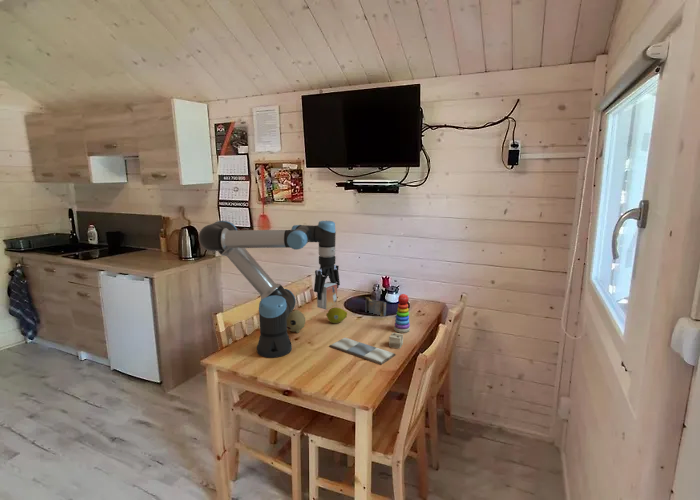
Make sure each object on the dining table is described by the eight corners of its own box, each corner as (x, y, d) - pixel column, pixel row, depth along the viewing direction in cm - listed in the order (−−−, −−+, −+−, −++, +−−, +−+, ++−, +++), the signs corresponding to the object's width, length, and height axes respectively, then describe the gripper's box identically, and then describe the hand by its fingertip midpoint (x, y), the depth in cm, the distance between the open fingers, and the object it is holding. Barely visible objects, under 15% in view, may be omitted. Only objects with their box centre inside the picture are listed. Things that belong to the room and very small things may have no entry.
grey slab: (365, 313, 230) (365, 296, 228) (367, 312, 232) (367, 295, 230) (383, 317, 224) (383, 300, 222) (385, 315, 227) (386, 298, 225)
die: (399, 348, 185) (400, 338, 184) (389, 347, 187) (389, 336, 186) (402, 344, 190) (403, 334, 189) (392, 342, 192) (392, 332, 191)
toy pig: (278, 334, 201) (277, 313, 199) (292, 325, 211) (292, 305, 209) (295, 338, 196) (294, 316, 194) (309, 329, 207) (308, 309, 205)
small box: (326, 310, 186) (326, 287, 184) (316, 307, 190) (316, 285, 188) (337, 305, 193) (337, 283, 191) (328, 302, 196) (328, 281, 194)
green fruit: (324, 324, 213) (324, 309, 212) (328, 318, 221) (328, 304, 219) (344, 326, 211) (344, 311, 209) (348, 320, 218) (348, 306, 216)
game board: (381, 364, 170) (381, 362, 170) (329, 346, 187) (329, 344, 187) (395, 355, 179) (395, 353, 179) (344, 338, 196) (344, 336, 195)
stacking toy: (391, 331, 204) (392, 295, 200) (397, 326, 211) (398, 290, 207) (406, 334, 200) (407, 297, 197) (412, 328, 207) (413, 292, 204)
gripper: (317, 260, 176) (318, 311, 181) (347, 252, 192) (347, 299, 197) (304, 258, 180) (305, 308, 185) (335, 250, 197) (335, 296, 201)
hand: (327, 303), depth 191 cm, fingers closed on small box, 8 cm apart
